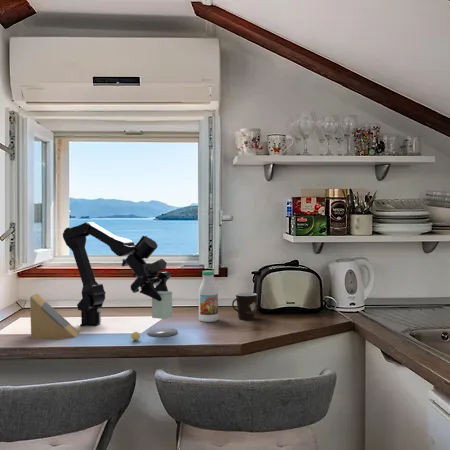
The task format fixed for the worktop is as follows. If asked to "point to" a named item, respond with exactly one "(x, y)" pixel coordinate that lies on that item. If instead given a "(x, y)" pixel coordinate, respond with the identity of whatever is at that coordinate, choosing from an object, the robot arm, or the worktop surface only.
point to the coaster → (162, 332)
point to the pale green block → (162, 305)
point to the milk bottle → (208, 298)
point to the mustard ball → (135, 336)
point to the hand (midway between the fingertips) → (165, 299)
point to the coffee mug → (245, 305)
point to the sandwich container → (48, 321)
